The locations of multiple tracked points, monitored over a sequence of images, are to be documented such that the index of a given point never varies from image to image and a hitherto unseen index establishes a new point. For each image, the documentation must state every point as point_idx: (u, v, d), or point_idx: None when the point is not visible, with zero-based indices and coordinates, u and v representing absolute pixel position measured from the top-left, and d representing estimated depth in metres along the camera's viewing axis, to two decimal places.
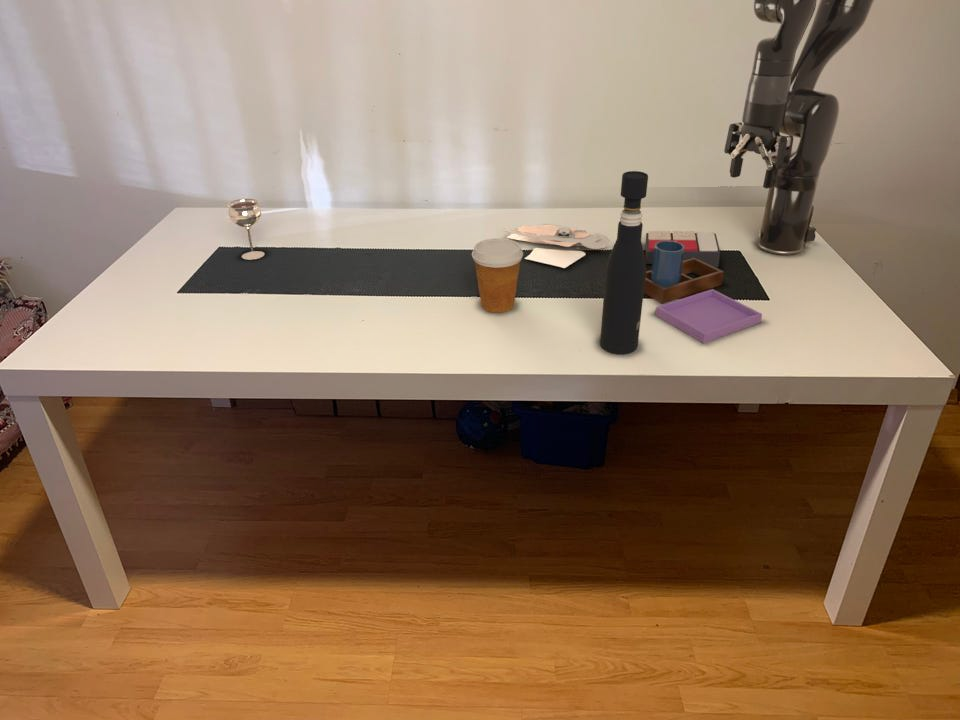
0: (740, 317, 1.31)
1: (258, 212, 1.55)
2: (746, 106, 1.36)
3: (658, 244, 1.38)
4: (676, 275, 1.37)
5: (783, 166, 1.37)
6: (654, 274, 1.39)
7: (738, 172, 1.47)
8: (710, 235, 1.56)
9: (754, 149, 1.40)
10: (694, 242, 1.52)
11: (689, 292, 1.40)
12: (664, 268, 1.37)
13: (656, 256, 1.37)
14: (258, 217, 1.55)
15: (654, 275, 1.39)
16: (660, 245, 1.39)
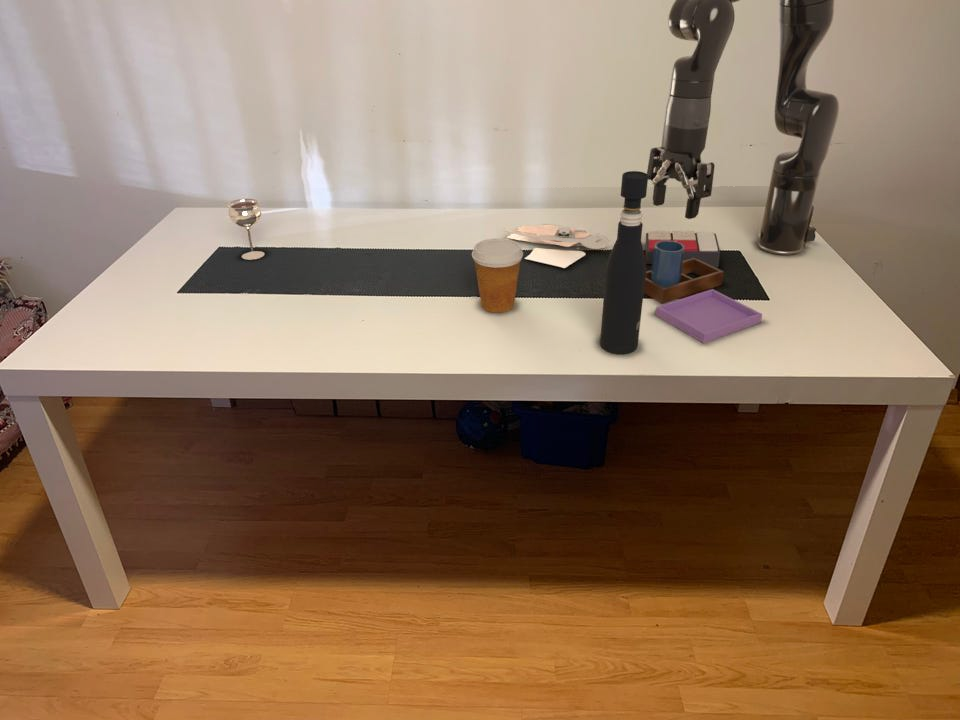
0: (740, 317, 1.31)
1: (258, 212, 1.55)
2: (664, 130, 1.25)
3: (658, 244, 1.38)
4: (676, 275, 1.37)
5: (704, 196, 1.25)
6: (654, 274, 1.39)
7: (661, 200, 1.36)
8: (710, 235, 1.56)
9: (675, 176, 1.29)
10: (694, 242, 1.52)
11: (689, 292, 1.40)
12: (664, 268, 1.37)
13: (656, 256, 1.37)
14: (258, 217, 1.55)
15: (654, 275, 1.39)
16: (660, 245, 1.39)
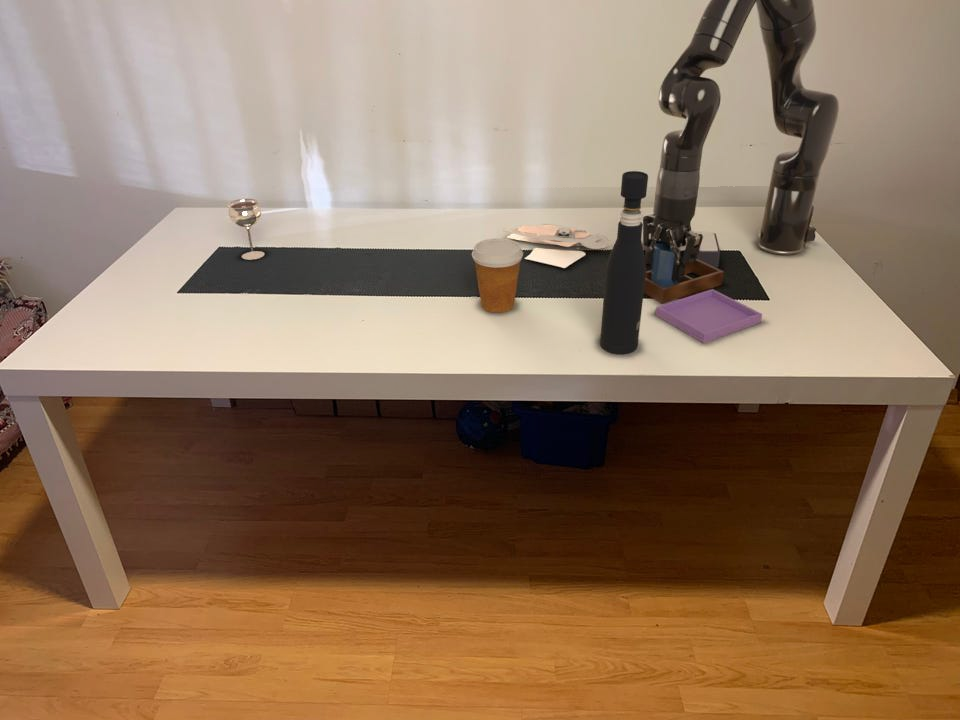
0: (740, 317, 1.31)
1: (258, 212, 1.55)
2: (656, 199, 1.32)
3: (658, 244, 1.38)
4: None
5: (689, 262, 1.33)
6: (654, 274, 1.39)
7: None
8: (710, 235, 1.56)
9: (667, 240, 1.35)
10: None
11: (689, 292, 1.40)
12: (664, 268, 1.37)
13: (656, 256, 1.37)
14: (258, 217, 1.55)
15: (654, 275, 1.39)
16: (660, 245, 1.39)
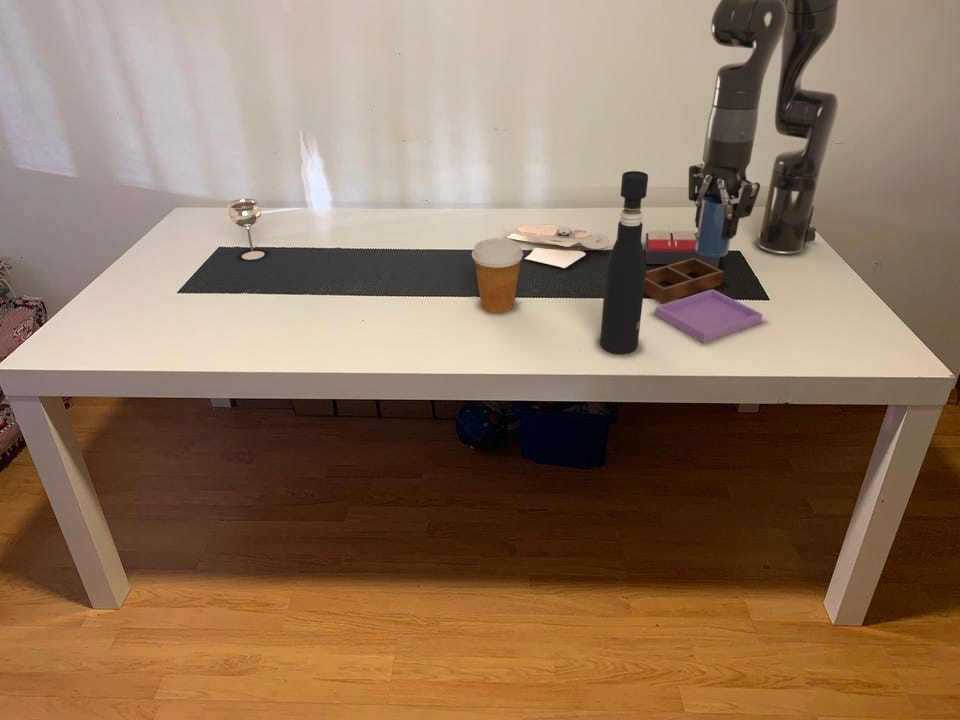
0: (740, 317, 1.31)
1: (258, 212, 1.55)
2: (706, 143, 1.16)
3: (706, 197, 1.23)
4: None
5: (743, 215, 1.17)
6: (701, 231, 1.23)
7: None
8: None
9: (717, 192, 1.20)
10: (694, 242, 1.52)
11: (689, 292, 1.40)
12: (713, 224, 1.21)
13: (704, 210, 1.21)
14: (258, 217, 1.55)
15: (701, 232, 1.23)
16: (708, 199, 1.23)
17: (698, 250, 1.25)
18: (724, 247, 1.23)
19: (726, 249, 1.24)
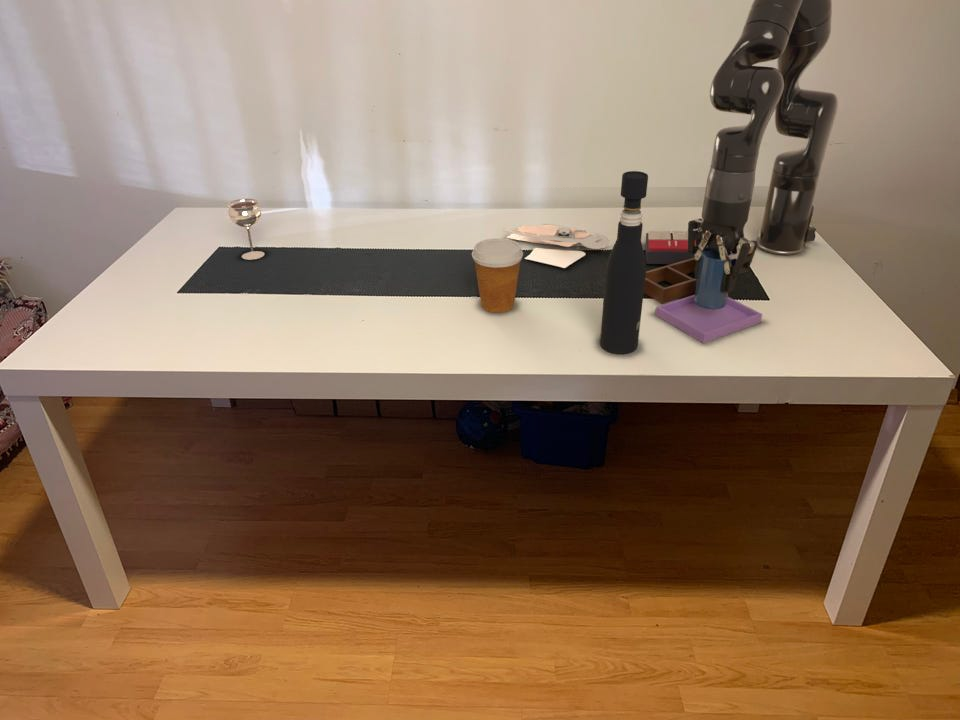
0: (740, 317, 1.31)
1: (258, 212, 1.55)
2: (705, 202, 1.20)
3: (705, 252, 1.26)
4: None
5: (741, 271, 1.21)
6: (700, 284, 1.27)
7: None
8: None
9: (716, 248, 1.23)
10: None
11: (689, 292, 1.40)
12: (712, 278, 1.25)
13: (703, 265, 1.25)
14: (258, 217, 1.55)
15: (700, 285, 1.27)
16: (707, 253, 1.27)
17: (697, 302, 1.28)
18: (723, 299, 1.27)
19: (724, 301, 1.27)
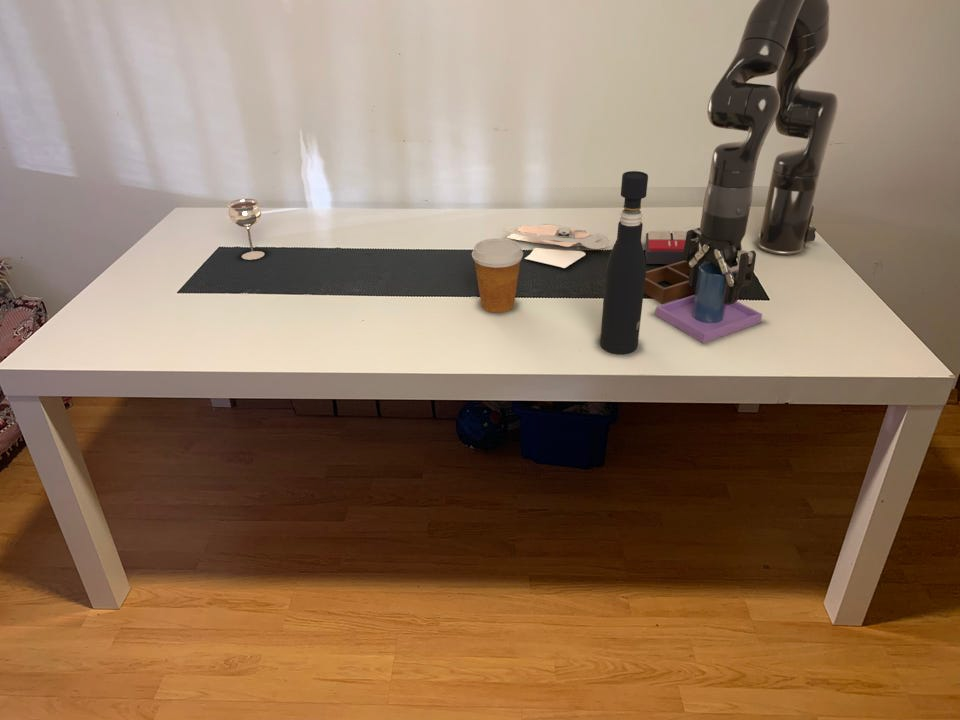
0: (740, 317, 1.31)
1: (258, 212, 1.55)
2: (703, 216, 1.21)
3: (703, 266, 1.28)
4: (722, 300, 1.27)
5: (745, 284, 1.21)
6: (698, 299, 1.28)
7: None
8: None
9: (714, 261, 1.25)
10: None
11: (689, 292, 1.40)
12: (709, 293, 1.26)
13: (701, 279, 1.26)
14: (258, 217, 1.55)
15: (698, 300, 1.28)
16: (705, 267, 1.28)
17: (695, 316, 1.30)
18: (721, 313, 1.28)
19: (722, 315, 1.29)
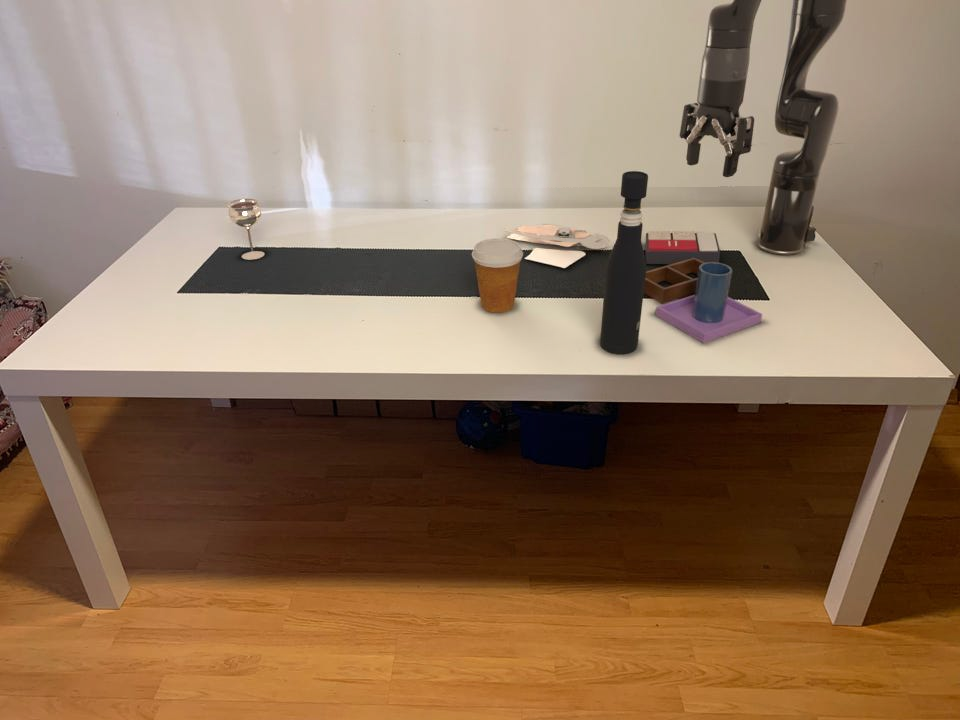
0: (740, 317, 1.31)
1: (258, 212, 1.55)
2: (700, 84, 1.20)
3: (703, 266, 1.28)
4: (722, 300, 1.27)
5: (744, 151, 1.20)
6: (698, 299, 1.28)
7: (695, 159, 1.31)
8: (710, 235, 1.56)
9: (711, 133, 1.24)
10: (694, 242, 1.52)
11: (689, 292, 1.40)
12: (709, 293, 1.26)
13: (701, 279, 1.26)
14: (258, 217, 1.55)
15: (698, 300, 1.28)
16: (705, 267, 1.28)
17: (695, 316, 1.30)
18: (721, 313, 1.28)
19: (722, 315, 1.29)
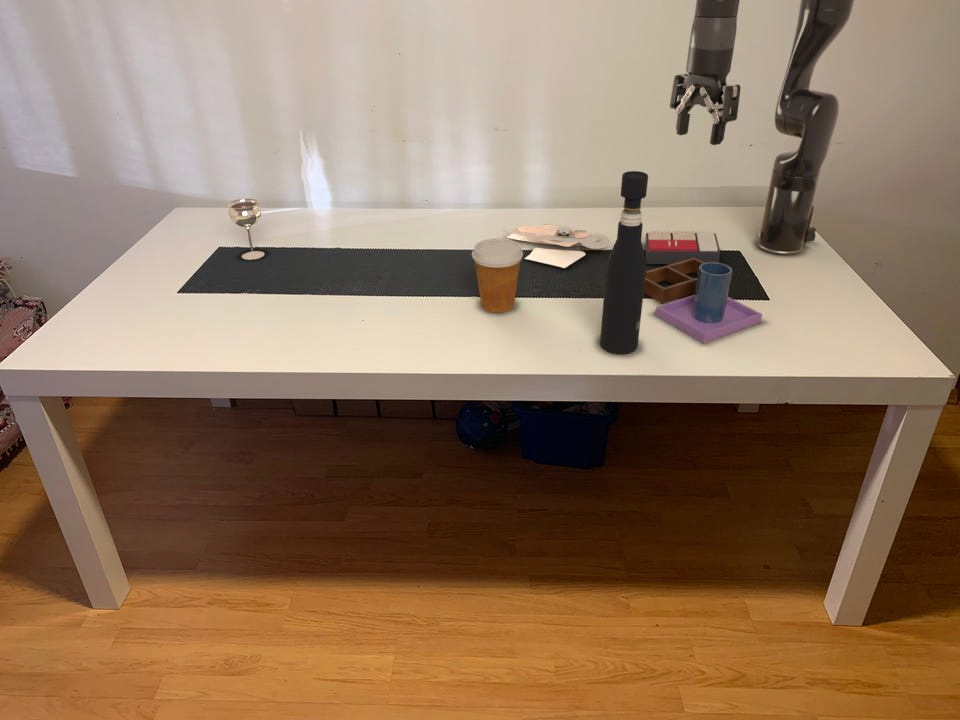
0: (740, 317, 1.31)
1: (258, 212, 1.55)
2: (689, 53, 1.24)
3: (703, 266, 1.28)
4: (722, 300, 1.27)
5: (730, 119, 1.24)
6: (698, 299, 1.28)
7: (685, 129, 1.35)
8: (710, 235, 1.56)
9: (700, 102, 1.28)
10: (694, 242, 1.52)
11: (689, 292, 1.40)
12: (709, 293, 1.26)
13: (701, 279, 1.26)
14: (258, 217, 1.55)
15: (698, 300, 1.28)
16: (705, 267, 1.28)
17: (695, 316, 1.30)
18: (721, 313, 1.28)
19: (722, 315, 1.29)
